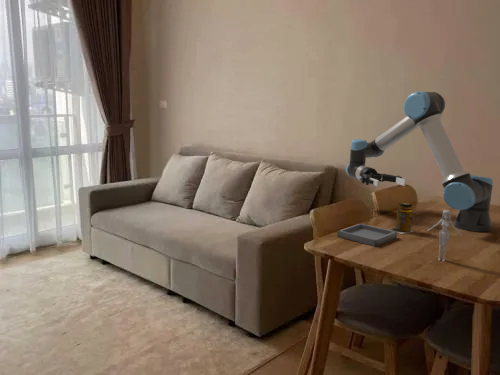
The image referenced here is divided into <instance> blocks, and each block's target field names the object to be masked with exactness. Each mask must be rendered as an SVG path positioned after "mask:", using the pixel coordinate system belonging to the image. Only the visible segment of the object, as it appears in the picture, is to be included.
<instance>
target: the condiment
mask: <svg viewBox="0 0 500 375" xmlns="http://www.w3.org/2000/svg"><path fill="white" fill-rule="evenodd" d="M412 218H413V204H412V203H411V202H407V201H406V202H405V201H401V202H399V203H398V209H397V212H396V223H395V228H394V227H393V228H388V230H391V231H395V232H397V234H400V235H402V234H409V233H414V232H415V230H412V229H411V228H412Z"/></svg>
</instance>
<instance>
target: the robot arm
mask: <svg viewBox="0 0 500 375" xmlns="http://www.w3.org/2000/svg"><path fill="white" fill-rule="evenodd" d="M445 108H446V102H445V98H444V97H443V96H442V95H441V94H440V93H439V92H435V91H423V90H420V91H413V92H412V93H410V94H409V95H408V96H407V97H406V98H405V101H404V103H403V112H404V113H405V115H406V116H405V117H403V118H402V119H400V120H399V121H398V122H396V123H395V124H394V125H392V126H391V127H390V128H388V129H387V130H386V131H384V132H383V133H382V134H380V135H379V136H377V137H376V138H374V139H373V140H372V141H370V142H367V140H366V139H360V138H359V139H358V138H357V139H352V140H351V144H350V156H349V163H347V165H346V167H345V173H346V175H347V176H348V177H350V178H352V179H355V180H358V181H359V182H361V184H365V185H366V186H369V185H371V186H374V187H378V188H379V184H380V182H383V183H384V182H388V183H389V182H390V183H396V184H397V185H401V186H403V187H406V185H407V179H404V178H403V177H402V176H400V175H392V174H386V173H379V172H378V171H377V169H375V168H373V167H370V166H366V160H367V159H369V158H378V157H380V156H382V155H384V152H385V151H386V150H388V149H389V148H390V147H392V146H393V145H395V144H396V143H398V142H399V141H401V140H402V139H403V138H405V137H406V136H408V135H409V134H410V133H412V132H414V131H415V130H417V129H418V128H419V129H421V132H422V134H423V136H424V138H425V141H426V143H427V145H428V147H429V149H430V151H431V153H432V156H433V158H434V160H435V162H436V165H437V167H438V168H439V171H440V174H441V175H442V177H443V180H442V181H441V183H442V187H443V192H442V197H443V200H444V202H445V204H446V205H447V206H448V207H450V208H451V209H453V210H458V213H457V214H456V217H455V219H454V224H453V225H454V227H456V228H457V229H462V230H466V231H472V232H481V233H482V232H484V233H485V232H490V231H492V228H493V227H492V226H493V223H492V219H491V214H490V210H491V209H490V207H491V200H492V194H493V187H494V185H493V184H494V180H493V179H492V178H491V177H489V176H488V177H487V176H479V175H471V173H470V172H468V171H466V170H464V167H463V165H462V163H461V162H460V159H459V157H458V154H457V152H456V151H455V149H454V146H453V144H452V142H451V140H450V137H449V136H448V133H447V131H446V129H445V127H444V125H443V122H442V121H441V118H442V117H443V112H444V110H445Z"/></svg>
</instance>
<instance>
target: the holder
mask: <svg viewBox="0 0 500 375" xmlns="http://www.w3.org/2000/svg"><path fill="white" fill-rule="evenodd" d="M397 234H398V233H397V232H395V231H391V230H389V229H386V228H383V227H377V226H372V225H369V224H365V223H364V224H363V223H356V224H354V225H352V226H349V227H348V226H347V227H345V228H343V229H340V230H337V238H340V237H341V239H344V238H345V239H344V240H348V239H349V240H348V241H352V242H355V241H356V243H360V244H364V245H368V246H371V247H379V246H381V245H383V244H385V243H387V242H390V241H392V240H394V239H397V237H398V236H397Z"/></svg>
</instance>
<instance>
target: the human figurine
mask: <svg viewBox="0 0 500 375" xmlns="http://www.w3.org/2000/svg"><path fill="white" fill-rule="evenodd" d="M441 216H442V217H441V219H440V220H439V221H437V223H436V224H433V225H432V226H431V227H430V228H428V229H427V232H429V231H430V230H431V229H433V228H435V227H437V226H438V225H440V226H441V227H442V228H441V229H440V230H439V232H438V242H439V245H438V248H439V249H438V259H437V260H438V261H439V262H440V261H442V262H445V261H446V253H447V244H448V242H449V239H450V235H451V234H450V230H448V228H449V227H450V226H451V227H453V229H454V230H455V231H456V232H457V233H458V234H459V235H460V236H461V237H462V238H463V237H464V236H463V234H462V233H461V232H460V231H459V230H458V229H459V228H458V227H456V226H455V225H454V224H453V222H452V220H451V218H452V211H451V210H449V209H443V211H442V215H441ZM442 250H443V253H442ZM442 254H443V257H441V256H442ZM441 258H442V260H441Z"/></svg>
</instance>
